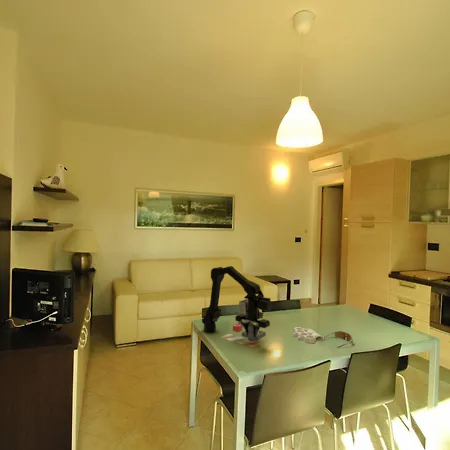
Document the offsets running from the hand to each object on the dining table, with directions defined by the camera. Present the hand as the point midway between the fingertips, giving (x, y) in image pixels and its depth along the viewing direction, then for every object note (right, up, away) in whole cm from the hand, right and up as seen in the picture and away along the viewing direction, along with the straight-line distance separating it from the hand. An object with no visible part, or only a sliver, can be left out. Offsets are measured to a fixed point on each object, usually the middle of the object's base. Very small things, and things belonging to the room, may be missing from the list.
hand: (251, 336), depth 167 cm
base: (+2, -5, +12) cm, 13 cm away
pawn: (0, -2, 0) cm, 2 cm away
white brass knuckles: (+33, -7, +15) cm, 37 cm away
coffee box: (-1, -5, +32) cm, 32 cm away
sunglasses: (+50, -7, +9) cm, 51 cm away
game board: (-6, -5, +4) cm, 9 cm away
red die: (-7, -5, +20) cm, 21 cm away
